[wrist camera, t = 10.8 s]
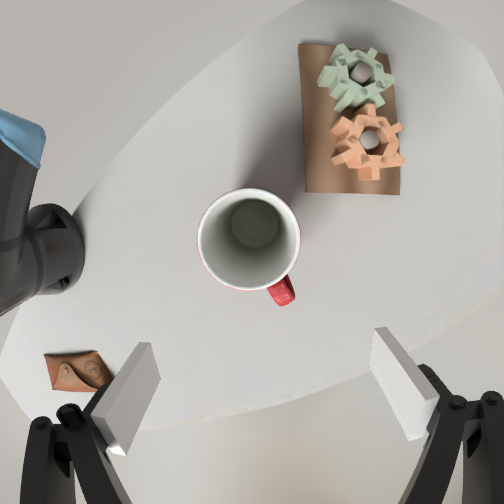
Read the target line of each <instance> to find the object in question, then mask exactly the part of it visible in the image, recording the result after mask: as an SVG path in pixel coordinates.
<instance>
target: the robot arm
mask: <svg viewBox="0 0 504 504" xmlns="http://www.w3.org/2000/svg"><path fill="white" fill-rule="evenodd" d="M45 140H46V135H45V132H44V130H43V128H42V127H41V126H39V125H37V124H35V123H32V122H31V121H28V120H26V119H24V118H21V117H19V116H16V115H14V114H11V113H9V112H7V111H4V110H2V109H0V316H2V315H3V314H5V313H7V312H8V311H10V310H11V309H13V308H15V307H16V306H18V305H20V304H21V303H23V302H24V301H26V300H28V299H29V298H31V297H33V296H35V295H50V294H59V293H62V292H64V291H66V290H67V289H69V288H71V287H72V286H73V285H74V284H75V283H76V282H77V281H78V279H79V277H80V275H81V273H82V269H83V265H84V246H83V240H82V236H81V233H80V231H79V228H78V226H77V224H76V222H75V220H74V219H73V217H72V216H71V215H70V214H69V213H68V212H67V211H66V210H65V209H64V208H63V207H61V206H59V205H56V204H42V205H38V206H35V207H33V208H32V209H30V210H29V205H30V200H31V196H32V192H33V188H34V183H35V180H36V176H37V172H38V169H40V160H41V155H42V152H43V148H44V144H45ZM28 210H29V211H28ZM369 367H370V369H371V370H372V372H373V374H374V376H375V378H376V379H377V381H378V383H379V385H380V387H381V389H382V390H383V392H384V394H385V396H386V398H387V400H388V402H389V404H390V405H391V407H392V409H393V411H394V413H395V415H396V417H397V419H398V421H399V423H400V425H401V426H402V428H403V430H404V432H405V434H406V436H407V438H408V440H409V441H411V440H414V439H418V438H420V437H423V435H424V433H425V431H426V429H427V431H428V432H429V436H428V438H427V441H426V442H425V444H424V446H423V448H424V449H423V451H422V454H421V457H420V459H419V461H418V463H417V466H416V468H415V470H414V473H413V475H412V477H411V479H410V481H409V483H408V485H407V487H406V490H405V491H404V494H403V495H402V497H401V499H400V501H399V503H398V504H442V501H443V499H444V496H445V494H446V491H447V488H448V485H449V482H450V479H451V476H452V473H453V470H454V467H455V463H456V460H457V456H458V453H459V449H460V445H461V441H463V494H462V504H504V400H503V397H502V395H500V394H499V393H498V392H495V391H487V392H485V393H484V394H483V395H482V397H481V399H480V400H477V401H467V400H466V399H465V398H464V397H462V396H459V395H452V393H451V392H450V391H449V390H448V389H447V387H446V386H445V385H444V383H443V382H442V381H441V380H440V378H439V377H438V376H437V375H436V374H435V372H434V371H433V370H432V369H431V368H430V367H428V366H427V365H425V364H421V365H418V366H417V365H416V364H415V362H414V361H413V360H412V359H411V357H410V356H409V355H408V354H407V352H406V351H405V350H404V349H403V347H402V346H401V345H400V344H399V342H398V341H397V340H396V339H395V337H394V336H393V335H392V334H391V332H390V331H389V330H388V329H387V328H386V327H382V328H375V329H374V336H373V344H372V351H371V358H370V364H369ZM160 379H161V378H160V375H159V372H158V368H157V365H156V361H155V358H154V354H153V350H152V347H151V343H142V342H139V343H138V345H137V346H136V348H135V349H134V350H133V352H132V353H131V355H130V356H129V358H128V359H127V361H126V362H125V363H124V365H123V366H122V368H121V369H120V371H119V372H118V374H117V375H116V377H115V378H114V380H113V381H112V383H111V384H107V383H105V384H104V385H102V386H101V387H100V388H98V390H97V391H96V393H95V394H94V396H93V397H92V398H91V400H90V401H89V403H88V404H87V406H86V407H85V408H84V410H83V411H81V409H80V407H79V406H78V405H76V404H72V403H70V404H65V405H63V406H61V407H60V408H59V409H58V411H57V413H56V416H57V418H58V419H59V421H60V423H61V424H53V423H52V421H51V420H50V419H49V418H48V417H45V416H41V417H38V418H36V419H34V420H33V421H32V423H31V425H30V430H29V435H28V440H27V445H26V451H25V458H24V464H23V472H22V481H21V492H20V504H76V498H75V480H74V468H75V471H76V474H77V477H78V480H79V483H80V486H81V489H82V492H83V494H84V497H85V500H86V502H87V504H132V502H131V500H130V499H129V497H128V495H127V493H126V491H125V490H124V488H123V486H122V484H121V482H120V480H119V478H118V476H117V474H116V472H115V469H114V468H113V466H112V463H111V461H110V459H109V456H108V454H107V453H106V449H107V447H108V446H109V448H110V450H111V451H112V452H113V453H116V454H120V455H125V456H126V454H127V452H128V450H129V448H130V445H131V443H132V441H133V438H134V436H135V434H136V432H137V430H138V427H139V425H140V423H141V421H142V418H143V416H144V414H145V412H146V410H147V407H148V405H149V403H150V401H151V399H152V396H153V394H154V392H155V390H156V388H157V386H158V383H159V381H160Z"/></svg>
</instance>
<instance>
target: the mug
mask: <svg viewBox="0 0 504 504" xmlns="http://www.w3.org/2000/svg"><path fill="white" fill-rule="evenodd" d="M300 245H301V233H300V227H299V224H298V221H297V218H296V216H295V214H294V213H293V211H292V210H291V208H290V207H289V206H288V205H287V204H286V203H285V202H284V201H283V200H282V199H281V198H279V197H278V196H276V195H275V194H273V193H271V192H269V191H266V190H262V189H257V188H242V189H237V190H233V191H230V192H228V193H226V194H224V195H222V196H220V197H219V198H218V199H216V200H215V201H214V202H213V203H212V204H211V205H210V206H209V207H208V209H207V210H206V211H205V213H204V215H203V217H202V219H201V221H200V224H199V227H198V233H197V246H198V251H199V255H200V258H201V260H202V262H203V264H204V266H205V267H206V269H207V270H208V272H209V273H210V274H211V275H212V276H213V277H214V278H215V279H216V280H218V281H219V282H220V283H222V284H224V285H226V286H228V287H230V288H233V289H237V290H242V291H255V290H260V289H264V288H267V290H268V291H269V293H270V295H271V296H272V298H273V299H274V301H275V302H276V303H277V304H278V305H279V306H285V305H287V304H289V303H290V302H292V301H293V300H294V299H295V293H294V289H293V287H292V284H291V281H290V279H289V276H288V274H287V273H288V272H289V271H290V270H291V268H292V267H293V266H294V264H295V262H296V260H297V257H298V254H299V251H300Z"/></svg>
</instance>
